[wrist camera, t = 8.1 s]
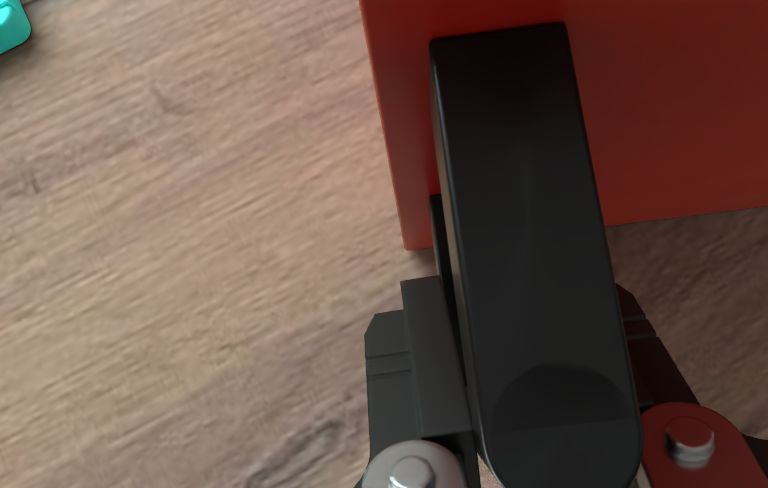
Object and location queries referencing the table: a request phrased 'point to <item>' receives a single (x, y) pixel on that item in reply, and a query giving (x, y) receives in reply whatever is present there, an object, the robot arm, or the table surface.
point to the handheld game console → (12, 24)
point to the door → (560, 192)
